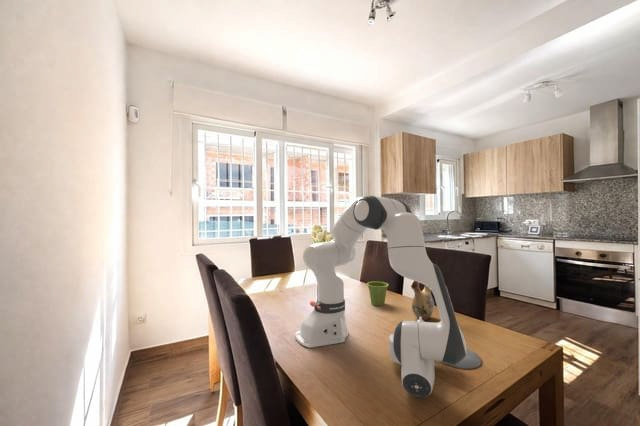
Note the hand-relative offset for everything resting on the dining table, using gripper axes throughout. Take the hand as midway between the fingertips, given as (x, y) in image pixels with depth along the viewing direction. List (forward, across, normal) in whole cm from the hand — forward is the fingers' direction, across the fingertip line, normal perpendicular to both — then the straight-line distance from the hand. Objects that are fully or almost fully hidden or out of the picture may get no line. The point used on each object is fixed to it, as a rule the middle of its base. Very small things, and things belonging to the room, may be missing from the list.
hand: (420, 336), depth 95 cm
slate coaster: (+1, -12, +5) cm, 13 cm away
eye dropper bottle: (+2, 0, +6) cm, 6 cm away
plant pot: (+46, +24, +6) cm, 52 cm away
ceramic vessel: (+33, 0, +6) cm, 33 cm away
